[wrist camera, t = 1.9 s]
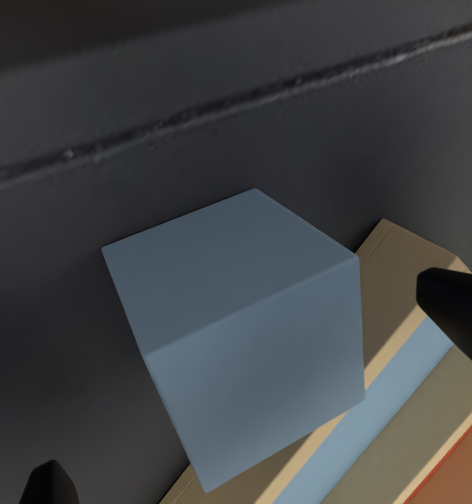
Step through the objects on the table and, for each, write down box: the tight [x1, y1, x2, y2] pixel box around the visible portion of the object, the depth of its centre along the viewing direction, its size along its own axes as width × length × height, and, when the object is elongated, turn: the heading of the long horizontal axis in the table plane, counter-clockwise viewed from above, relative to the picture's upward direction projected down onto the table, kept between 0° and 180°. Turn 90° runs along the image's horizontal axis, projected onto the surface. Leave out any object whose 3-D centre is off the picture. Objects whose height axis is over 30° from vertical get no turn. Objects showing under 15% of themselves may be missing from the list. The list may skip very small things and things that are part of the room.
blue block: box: [102, 188, 365, 493], centre depth 11 cm, size 4×4×4 cm
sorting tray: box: [159, 219, 472, 504], centre depth 19 cm, size 14×17×3 cm
